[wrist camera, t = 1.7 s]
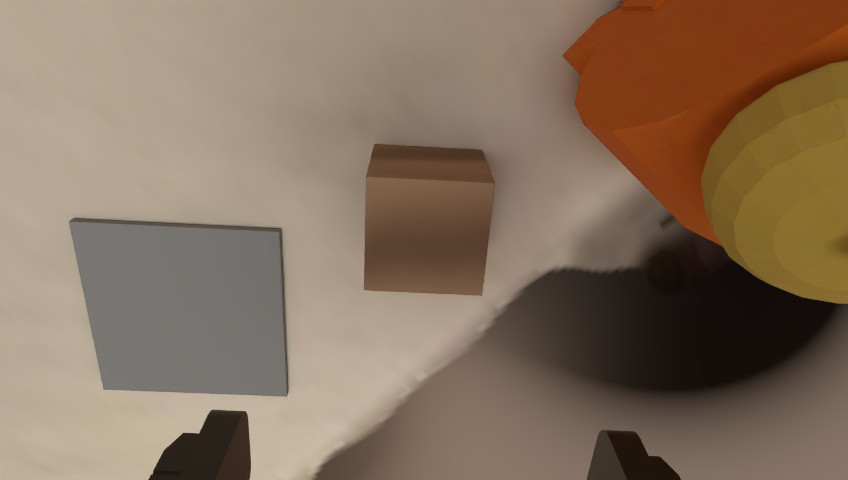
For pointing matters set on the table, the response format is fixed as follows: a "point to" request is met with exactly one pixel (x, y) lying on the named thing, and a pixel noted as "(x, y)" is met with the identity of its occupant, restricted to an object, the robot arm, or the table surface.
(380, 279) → the cube
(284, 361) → the mat
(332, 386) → the table surface
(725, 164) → the alarm clock
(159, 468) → the robot arm
